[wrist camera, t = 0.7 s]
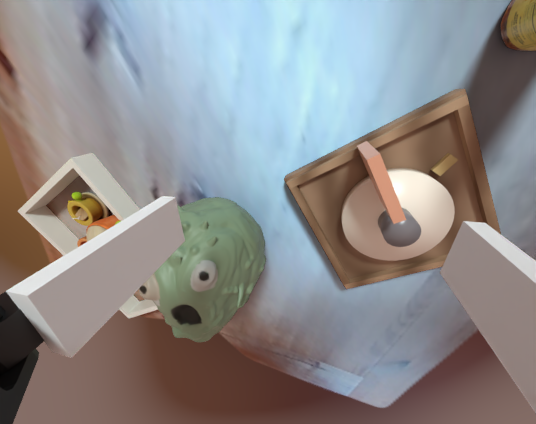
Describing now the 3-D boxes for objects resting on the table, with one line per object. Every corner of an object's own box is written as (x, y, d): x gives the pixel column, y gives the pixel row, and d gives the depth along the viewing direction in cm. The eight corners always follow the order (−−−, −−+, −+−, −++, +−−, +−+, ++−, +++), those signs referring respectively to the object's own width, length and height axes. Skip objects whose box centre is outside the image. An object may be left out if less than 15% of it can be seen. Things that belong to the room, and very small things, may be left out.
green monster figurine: (202, 260, 46) (130, 358, 28) (186, 172, 37) (67, 237, 20) (276, 271, 43) (244, 388, 25) (277, 178, 34) (230, 260, 17)
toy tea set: (75, 182, 44) (16, 202, 35) (145, 202, 42) (101, 228, 33) (101, 275, 56) (63, 306, 48) (156, 293, 55) (125, 329, 46)
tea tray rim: (92, 152, 40) (70, 158, 36) (202, 284, 49) (193, 298, 46) (39, 203, 49) (17, 211, 45) (140, 305, 59) (128, 318, 55)
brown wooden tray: (455, 89, 25) (470, 88, 22) (494, 240, 31) (509, 253, 29) (285, 175, 34) (282, 181, 31) (343, 278, 40) (345, 291, 37)
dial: (457, 235, 30) (499, 276, 23) (361, 262, 35) (370, 302, 28) (418, 112, 24) (457, 118, 17) (312, 166, 30) (308, 186, 23)
